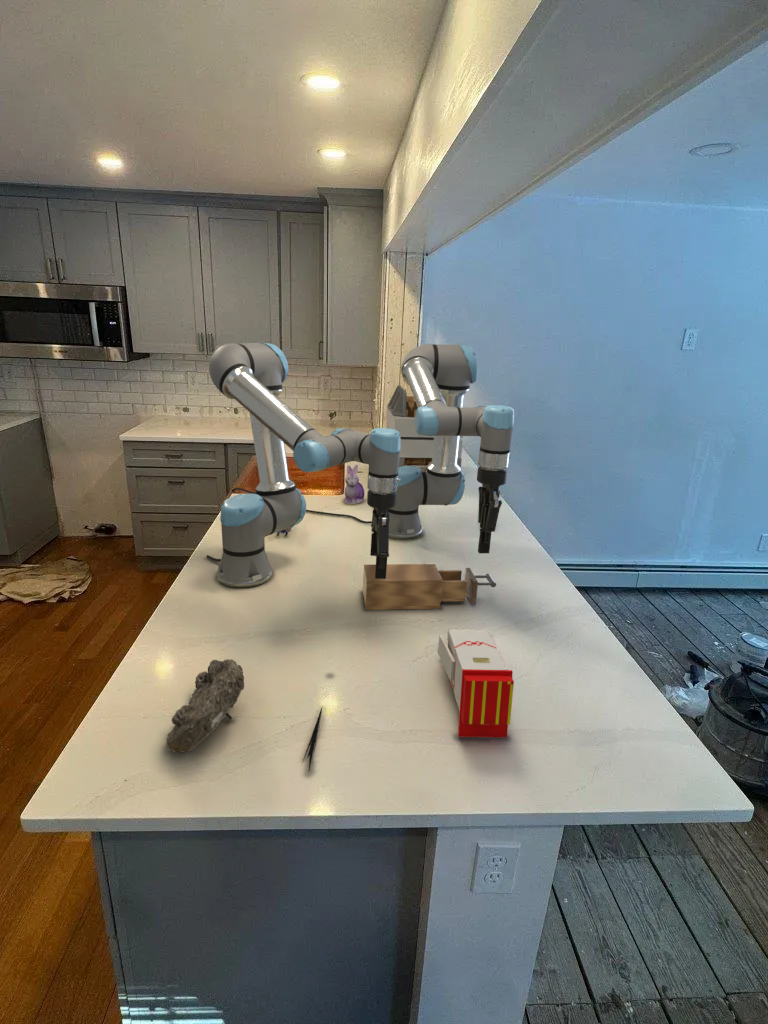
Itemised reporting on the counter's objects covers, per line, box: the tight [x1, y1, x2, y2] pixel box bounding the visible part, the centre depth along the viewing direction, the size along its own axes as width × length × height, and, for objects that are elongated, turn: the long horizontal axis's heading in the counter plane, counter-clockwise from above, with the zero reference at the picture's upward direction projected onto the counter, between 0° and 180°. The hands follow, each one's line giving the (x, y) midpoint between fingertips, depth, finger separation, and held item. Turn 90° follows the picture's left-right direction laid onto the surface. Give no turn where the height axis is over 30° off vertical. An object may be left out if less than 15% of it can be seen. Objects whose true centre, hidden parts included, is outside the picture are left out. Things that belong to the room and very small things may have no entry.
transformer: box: [385, 384, 464, 469], centre depth 268 cm, size 34×33×41 cm
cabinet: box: [362, 563, 443, 611], centre depth 153 cm, size 20×10×8 cm, turn 96°
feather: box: [301, 673, 332, 771], centre depth 108 cm, size 2×28×2 cm
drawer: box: [438, 567, 497, 605], centre depth 155 cm, size 24×9×7 cm, turn 96°
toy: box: [437, 628, 515, 738], centre depth 117 cm, size 12×13×30 cm
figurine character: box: [276, 526, 295, 537], centre depth 197 cm, size 7×8×15 cm
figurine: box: [343, 464, 366, 505], centre depth 228 cm, size 9×10×15 cm
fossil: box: [166, 658, 245, 754], centre depth 106 cm, size 22×10×15 cm
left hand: (377, 566), depth 150 cm, fingers open, 13 cm apart
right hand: (483, 552), depth 152 cm, fingers closed
